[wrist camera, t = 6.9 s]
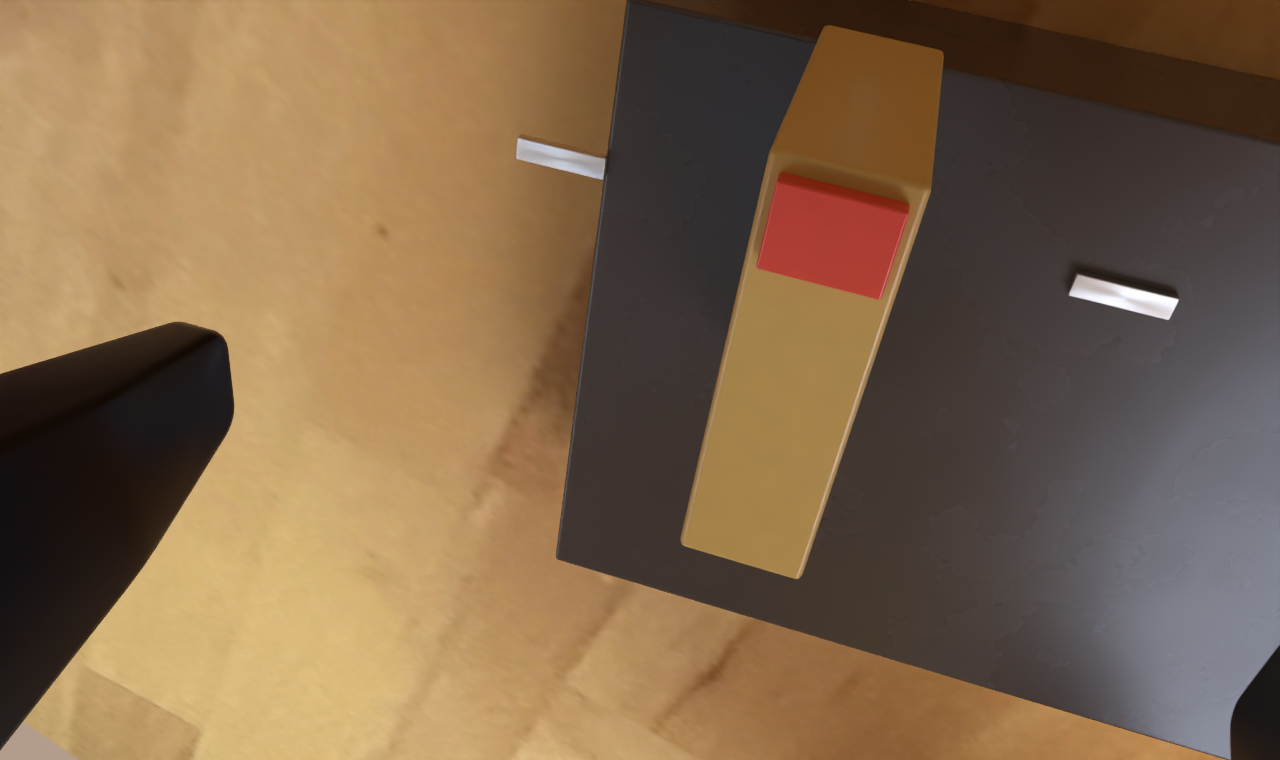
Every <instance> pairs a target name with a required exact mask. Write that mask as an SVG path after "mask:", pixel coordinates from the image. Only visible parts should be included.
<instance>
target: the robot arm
mask: <svg viewBox="0 0 1280 760" xmlns="http://www.w3.org/2000/svg"><path fill="white" fill-rule="evenodd" d="M233 415H234V398H233V389H232V380H231V371H230V362H229V353H228V347H227V343H226V341H225V339H224V337H223V336H222V335H221V334H219V333H218V332H216V331H214V330H210V329H207V328H203V327H199V326H196V325H192V324H189V323H185V322H172V323H168V324H165V325H162V326H158V327H155V328H152V329H148V330H145V331H142V332H138V333H135V334H132V335H128V336H125V337H122V338H118V339H115V340H112V341H108V342H105V343H102V344H98V345H95V346H92V347H89V348H85V349H82V350H79V351H75V352H72V353H69V354H65V355H62V356H59V357H55V358H52V359H49V360H45V361H42V362H39V363H35V364H32V365H29V366H25V367H22V368H19V369H15V370H12V371H9V372H5V373H2V374H0V750H1V749H2V747H3V746H4V745H5V744H6V742H7V741H8V740H9V738H10V737H11V736H12V735H13V733H14V732H15V731H16V730H17V728H18V727H19V726H20V725H21V723H22V722H23V721H24V719H25V718H26V717H27V716H28V714H29V713H30V712H31V711H32V709H33V708H34V707H35V705H36V704H37V703H38V702H39V700H40V699H41V698H42V696H43V695H44V694H45V693H46V691H47V690H48V689H49V688H50V686H51V685H52V684H53V682H54V681H55V680H56V679H57V677H58V676H59V675H60V674H61V672H62V671H63V670H64V668H65V667H66V666H67V665H68V663H69V662H70V661H71V659H72V658H73V657H74V656H75V654H76V653H77V652H78V651H79V649H80V648H81V647H82V645H83V644H84V643H85V642H86V640H87V639H88V638H89V637H90V635H91V634H92V633H93V631H94V630H95V629H96V628H97V626H98V625H99V624H100V622H101V621H102V620H103V619H104V617H105V616H106V615H107V614H108V612H109V611H110V610H111V608H112V607H113V606H114V605H115V603H116V602H117V601H118V600H119V598H120V597H121V596H122V594H123V593H124V592H125V591H126V589H127V588H128V587H129V585H130V584H131V583H132V581H133V580H134V579H135V577H136V576H137V575H138V573H139V572H140V571H141V569H142V568H143V566H144V565H145V563H146V562H147V560H148V559H149V557H150V556H151V555H152V553H153V552H154V550H155V549H156V547H157V546H158V544H159V542H160V541H161V539H162V537H163V536H164V534H165V533H166V531H167V529H168V528H169V526H170V525H171V523H172V521H173V520H174V518H175V517H176V515H177V513H178V512H179V510H180V508H181V507H182V505H183V504H184V502H185V500H186V499H187V497H188V496H189V494H190V492H191V491H192V489H193V488H194V486H195V484H196V483H197V481H198V480H199V478H200V476H201V475H202V473H203V471H204V470H205V468H206V467H207V465H208V463H209V462H210V460H211V459H212V457H213V455H214V454H215V452H216V451H217V449H218V447H219V446H220V444H221V442H222V441H223V439H224V438H225V436H226V434H227V432H228V430H229V428H230V426H231V423H232V419H233ZM1230 756H1231V760H1280V645H1279V646H1278V647H1277V649H1276V650H1275V651H1274V653H1273V654H1272V655H1271V656H1270V658H1269V659H1268V660H1267V662H1266V663H1265V664H1264V666H1263V667H1262V668H1261V670H1260V671H1259V672H1258V674H1257V675H1256V676H1255V678H1254V679H1253V680H1252V681H1251V683H1250V684H1249V685H1248V687H1247V688H1246V689H1245V691H1244V692H1243V693H1242V695H1241V696H1240V698H1239V699H1238V701H1237V703H1236V705H1235V707H1234V710H1233V713H1232V717H1231V724H1230Z"/></svg>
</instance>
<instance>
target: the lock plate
mask: <svg viewBox="0 0 1280 760" xmlns="http://www.w3.org/2000/svg"><path fill="white" fill-rule="evenodd" d="M828 25H831V26H836V27H840V28H845V29H849V30H853V31H858V32H862V33H867V34H871V35H876V36H880V37H885V38H889V39H893V40H898V41H902V42H907V43H911V44H916V45H920V46H925V47H929V48H933V49H938V50H940V51H942V52H943V55H944V59H943V69H942V80H941V90H940V101H939V111H938V122H937V132H936V143H935V153H934V164H933V174H932V185H931V193H930V196H929V199H928V202H927V205H926V207H925V210H924V213H923V216H922V219H921V222H920V225H919V228H918V231H917V234H916V237H915V240H914V243H913V246H912V249H911V252H910V255H909V258H908V261H907V264H906V267H905V270H904V273H903V276H902V279H901V282H900V285H899V288H898V291H897V294H896V297H895V300H894V303H893V306H892V309H891V312H890V315H889V318H888V321H887V324H886V327H885V330H884V333H883V336H882V339H881V342H880V345H879V348H878V351H877V354H876V357H875V360H874V363H873V366H872V369H871V372H870V375H869V378H868V381H867V384H866V386H865V389H864V392H863V395H862V398H861V401H860V404H859V407H858V410H857V413H856V416H855V419H854V422H853V425H852V428H851V431H850V434H849V437H848V440H847V443H846V446H845V449H844V452H843V455H842V458H841V461H840V464H839V467H838V470H837V473H836V476H835V479H834V482H833V485H832V488H831V491H830V494H829V497H828V500H827V503H826V506H825V509H824V512H823V515H822V518H821V521H820V524H819V527H818V530H817V533H816V536H815V539H814V542H813V545H812V548H811V551H810V554H809V557H808V560H807V563H806V565H805V568H804V571H803V574H802V576H801V577H800V578H799V579H794V578H790V577H787V576H784V575H780V574H777V573H774V572H770V571H767V570H763V569H760V568H757V567H753V566H750V565H746V564H743V563H740V562H736V561H733V560H730V559H726V558H723V557H719V556H716V555H713V554H709V553H706V552H703V551H699V550H696V549H692V548H689V547H686V546H684V545H682V544H681V539H680V538H681V534H682V529H683V525H684V521H685V516H686V512H687V508H688V503H689V499H690V495H691V490H692V486H693V482H694V477H695V473H696V468H697V464H698V460H699V455H700V451H701V447H702V442H703V438H704V434H705V429H706V425H707V421H708V416H709V412H710V408H711V403H712V399H713V395H714V390H715V386H716V382H717V377H718V373H719V368H720V364H721V360H722V355H723V351H724V347H725V342H726V338H727V334H728V329H729V325H730V321H731V316H732V312H733V308H734V303H735V299H736V295H737V290H738V286H739V282H740V277H741V273H742V268H743V264H744V260H745V255H746V251H747V247H748V242H749V238H750V234H751V229H752V225H753V221H754V216H755V212H756V208H757V203H758V199H759V195H760V190H761V186H762V181H763V177H764V173H765V168H766V164H767V160H768V155H769V152H770V149H771V147H772V145H773V142H774V140H775V138H776V136H777V133H778V131H779V129H780V126H781V124H782V122H783V119H784V117H785V115H786V112H787V110H788V108H789V106H790V103H791V101H792V99H793V96H794V94H795V92H796V89H797V87H798V85H799V83H800V80H801V78H802V76H803V73H804V71H805V69H806V66H807V64H808V62H809V60H810V57H811V55H812V53H813V50H814V48H815V46H816V43H817V41H818V39H819V37H820V34H821V32H822V30H823V28H824V27H825V26H828ZM516 159H518V160H522V161H526V162H531V163H535V164H539V165H543V166H547V167H551V168H555V169H559V170H563V171H567V172H571V173H575V174H579V175H583V176H587V177H591V178H595V179H599V180H604V182H603V190H602V197H601V205H600V213H599V221H598V229H597V237H596V244H595V252H594V260H593V268H592V276H591V284H590V292H589V299H588V307H587V315H586V323H585V331H584V339H583V346H582V354H581V362H580V370H579V378H578V386H577V393H576V401H575V409H574V417H573V425H572V433H571V441H570V448H569V456H568V464H567V472H566V480H565V488H564V495H563V503H562V511H561V519H560V527H559V535H558V543H557V550H556V559H558V560H561V561H564V562H568V563H571V564H574V565H578V566H581V567H584V568H588V569H591V570H594V571H598V572H601V573H604V574H608V575H611V576H614V577H618V578H621V579H624V580H628V581H631V582H634V583H638V584H641V585H644V586H648V587H651V588H655V589H658V590H661V591H665V592H668V593H671V594H675V595H678V596H681V597H685V598H688V599H691V600H695V601H698V602H701V603H705V604H708V605H711V606H715V607H718V608H721V609H725V610H728V611H731V612H735V613H738V614H741V615H745V616H748V617H751V618H755V619H758V620H761V621H765V622H768V623H772V624H775V625H778V626H782V627H785V628H788V629H792V630H795V631H798V632H802V633H805V634H808V635H812V636H815V637H818V638H822V639H825V640H828V641H832V642H835V643H838V644H842V645H845V646H848V647H852V648H855V649H858V650H862V651H865V652H868V653H872V654H875V655H878V656H882V657H885V658H889V659H892V660H895V661H899V662H902V663H905V664H909V665H912V666H915V667H919V668H922V669H925V670H929V671H932V672H935V673H939V674H942V675H945V676H949V677H952V678H955V679H959V680H962V681H965V682H969V683H972V684H975V685H979V686H982V687H985V688H989V689H992V690H995V691H999V692H1002V693H1006V694H1009V695H1012V696H1016V697H1019V698H1022V699H1026V700H1029V701H1032V702H1036V703H1039V704H1042V705H1046V706H1049V707H1052V708H1056V709H1059V710H1062V711H1066V712H1069V713H1072V714H1076V715H1079V716H1082V717H1086V718H1089V719H1092V720H1096V721H1099V722H1102V723H1106V724H1109V725H1113V726H1116V727H1119V728H1123V729H1126V730H1129V731H1133V732H1136V733H1139V734H1143V735H1146V736H1149V737H1153V738H1156V739H1159V740H1163V741H1166V742H1169V743H1173V744H1176V745H1179V746H1183V747H1186V748H1189V749H1193V750H1196V751H1199V752H1203V753H1206V754H1209V755H1213V756H1216V757H1219V758H1223V759H1226V760H1231V756H1230V724H1231V717H1232V713H1233V710H1234V707H1235V705H1236V703H1237V701H1238V699H1239V698H1240V696H1241V695H1242V693H1243V692H1244V691H1245V689H1246V688H1247V687H1248V685H1249V684H1250V683H1251V681H1252V680H1253V679H1254V678H1255V676H1256V675H1257V674H1258V672H1259V671H1260V670H1261V668H1262V667H1263V666H1264V664H1265V663H1266V662H1267V660H1268V659H1269V658H1270V656H1271V655H1272V654H1273V653H1274V651H1275V650H1276V649H1277V647H1278V646H1279V645H1280V80H1277V79H1272V78H1267V77H1263V76H1258V75H1253V74H1249V73H1244V72H1239V71H1235V70H1230V69H1225V68H1221V67H1216V66H1211V65H1207V64H1202V63H1197V62H1193V61H1188V60H1183V59H1179V58H1174V57H1169V56H1165V55H1160V54H1155V53H1151V52H1146V51H1142V50H1137V49H1132V48H1128V47H1123V46H1118V45H1114V44H1109V43H1104V42H1100V41H1095V40H1090V39H1086V38H1081V37H1076V36H1072V35H1067V34H1062V33H1058V32H1053V31H1048V30H1044V29H1039V28H1034V27H1030V26H1025V25H1020V24H1016V23H1011V22H1006V21H1002V20H997V19H993V18H988V17H983V16H979V15H974V14H969V13H965V12H960V11H955V10H951V9H946V8H941V7H937V6H932V5H927V4H923V3H918V2H913V1H909V0H627V1H626V9H625V17H624V25H623V33H622V41H621V48H620V56H619V64H618V72H617V80H616V88H615V95H614V103H613V111H612V119H611V127H610V135H609V142H608V150H607V155H605V154H601V153H597V152H593V151H589V150H585V149H581V148H576V147H572V146H568V145H564V144H560V143H556V142H552V141H548V140H544V139H540V138H535V137H531V136H527V135H523V134H521V135H520V136H519V137H518V138H517V151H516Z"/></svg>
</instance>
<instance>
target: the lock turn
mask: <svg viewBox="0 0 1280 760" xmlns="http://www.w3.org/2000/svg"><path fill="white" fill-rule="evenodd" d="M943 59H944V55H943V52H942V51H940V50H938V49H933V48H929V47H925V46H920V45H916V44H911V43H907V42H902V41H898V40H893V39H889V38H885V37H880V36H876V35H871V34H867V33H862V32H858V31H853V30H849V29H845V28H840V27H836V26H831V25H828V26H825V27H824V28H823V30H822V32H821V34H820V37H819V39H818V41H817V43H816V46H815V48H814V50H813V53H812V55H811V57H810V60H809V62H808V64H807V66H806V69H805V71H804V73H803V76H802V78H801V80H800V83H799V85H798V87H797V89H796V92H795V94H794V96H793V99H792V101H791V103H790V106H789V108H788V110H787V112H786V115H785V117H784V119H783V122H782V124H781V126H780V129H779V131H778V133H777V136H776V138H775V140H774V142H773V145H772V147H771V149H770V152H769V155H768V160H767V164H766V168H765V173H764V177H763V181H762V186H761V190H760V195H759V199H758V203H757V208H756V212H755V216H754V221H753V225H752V229H751V234H750V238H749V242H748V247H747V251H746V255H745V260H744V264H743V268H742V273H741V277H740V282H739V286H738V290H737V295H736V299H735V303H734V308H733V312H732V316H731V321H730V325H729V329H728V334H727V338H726V342H725V347H724V351H723V355H722V360H721V364H720V368H719V373H718V377H717V382H716V386H715V390H714V395H713V399H712V403H711V408H710V412H709V416H708V421H707V425H706V429H705V434H704V438H703V442H702V447H701V451H700V455H699V460H698V464H697V468H696V473H695V477H694V482H693V486H692V490H691V495H690V499H689V503H688V508H687V512H686V516H685V521H684V525H683V529H682V534H681V538H680V539H681V544H682V545H684V546H686V547H689V548H692V549H696V550H699V551H703V552H706V553H709V554H713V555H716V556H719V557H723V558H726V559H730V560H733V561H736V562H740V563H743V564H746V565H750V566H753V567H757V568H760V569H763V570H767V571H770V572H774V573H777V574H780V575H784V576H787V577H790V578H794V579H799V578H800V577H801V576H802V574H803V571H804V568H805V565H806V563H807V560H808V557H809V554H810V551H811V548H812V545H813V542H814V539H815V536H816V533H817V530H818V527H819V524H820V521H821V518H822V515H823V512H824V509H825V506H826V503H827V500H828V497H829V494H830V491H831V488H832V485H833V482H834V479H835V476H836V473H837V470H838V467H839V464H840V461H841V458H842V455H843V452H844V449H845V446H846V443H847V440H848V437H849V434H850V431H851V428H852V425H853V422H854V419H855V416H856V413H857V410H858V407H859V404H860V401H861V398H862V395H863V392H864V389H865V386H866V384H867V381H868V378H869V375H870V372H871V369H872V366H873V363H874V360H875V357H876V354H877V351H878V348H879V345H880V342H881V339H882V336H883V333H884V330H885V327H886V324H887V321H888V318H889V315H890V312H891V309H892V306H893V303H894V300H895V297H896V294H897V291H898V288H899V285H900V282H901V279H902V276H903V273H904V270H905V267H906V264H907V261H908V258H909V255H910V252H911V249H912V246H913V243H914V240H915V237H916V234H917V231H918V228H919V225H920V222H921V219H922V216H923V213H924V210H925V207H926V205H927V202H928V199H929V196H930V193H931V185H932V174H933V164H934V153H935V143H936V132H937V122H938V111H939V101H940V90H941V80H942V69H943Z"/></svg>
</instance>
